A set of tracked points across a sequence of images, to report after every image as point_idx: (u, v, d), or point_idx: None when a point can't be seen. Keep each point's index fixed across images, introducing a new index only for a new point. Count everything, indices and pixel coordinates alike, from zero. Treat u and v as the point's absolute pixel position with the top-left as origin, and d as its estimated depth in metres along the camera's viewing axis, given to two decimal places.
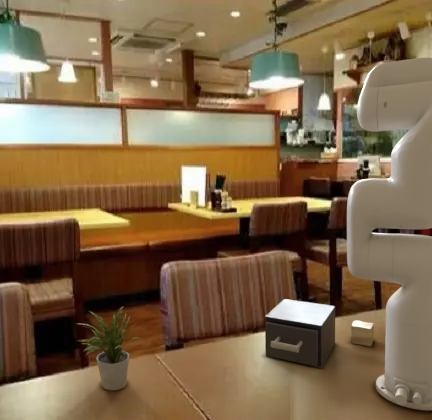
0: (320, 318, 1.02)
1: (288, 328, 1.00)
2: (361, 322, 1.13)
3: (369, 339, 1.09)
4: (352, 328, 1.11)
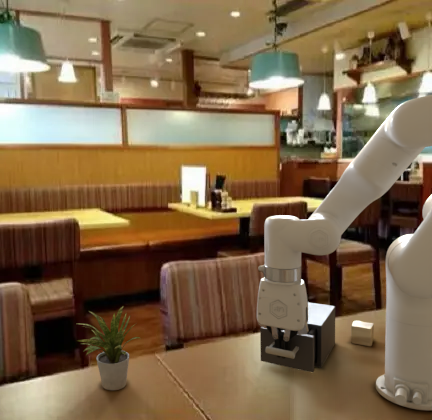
0: (320, 318, 1.02)
1: None
2: (361, 322, 1.13)
3: (369, 339, 1.09)
4: (352, 328, 1.11)
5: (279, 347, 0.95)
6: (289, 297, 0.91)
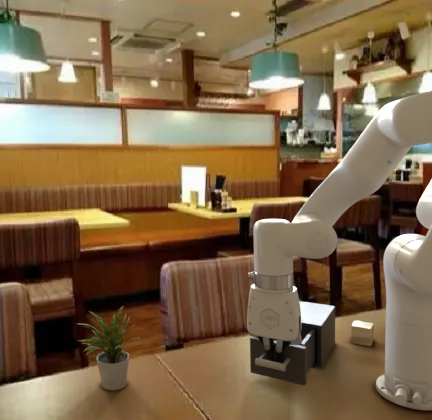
0: (320, 318, 1.02)
1: None
2: (361, 322, 1.13)
3: (369, 339, 1.09)
4: (352, 328, 1.11)
5: (271, 358, 0.90)
6: (281, 305, 0.86)
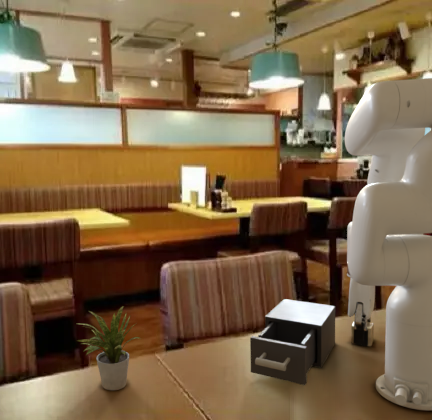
0: (320, 318, 1.02)
1: (275, 343, 0.93)
2: None
3: (369, 339, 1.09)
4: (352, 328, 1.11)
5: None
6: None
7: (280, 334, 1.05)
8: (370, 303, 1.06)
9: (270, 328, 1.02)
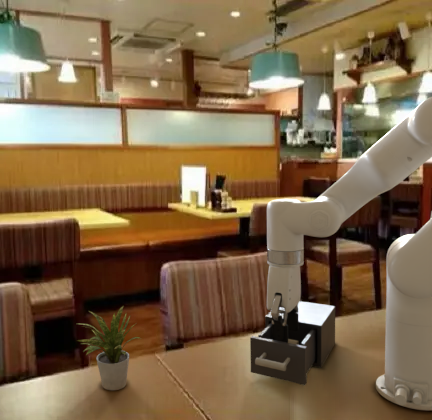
0: (320, 318, 1.02)
1: (275, 343, 0.93)
2: None
3: None
4: None
5: None
6: None
7: None
8: (290, 294, 0.92)
9: (270, 328, 1.02)
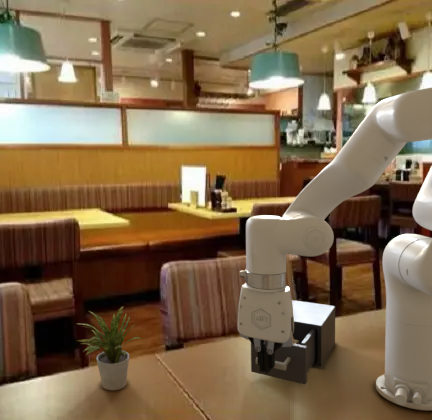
0: (320, 318, 1.02)
1: None
2: None
3: None
4: None
5: (262, 360, 0.86)
6: (273, 306, 0.83)
7: None
8: None
9: None
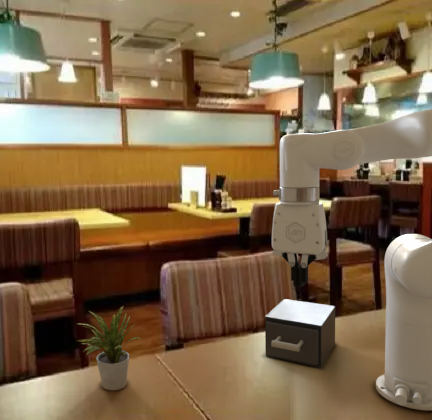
0: (320, 318, 1.02)
1: (289, 327, 1.01)
2: None
3: None
4: None
5: (296, 275, 0.90)
6: (307, 218, 0.86)
7: None
8: None
9: None
